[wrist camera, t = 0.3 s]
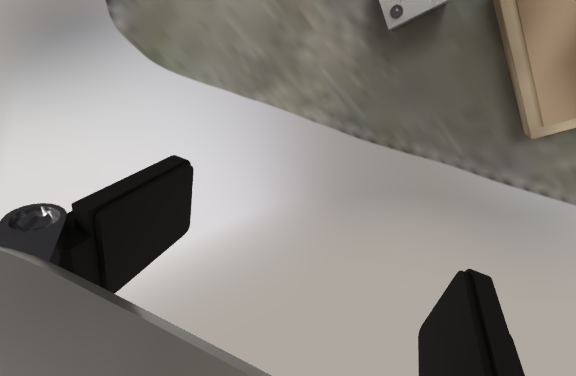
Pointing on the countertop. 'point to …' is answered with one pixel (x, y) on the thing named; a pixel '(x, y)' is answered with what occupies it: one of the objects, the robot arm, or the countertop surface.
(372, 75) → the countertop surface
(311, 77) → the countertop surface
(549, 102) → the beech stand
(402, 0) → the block
